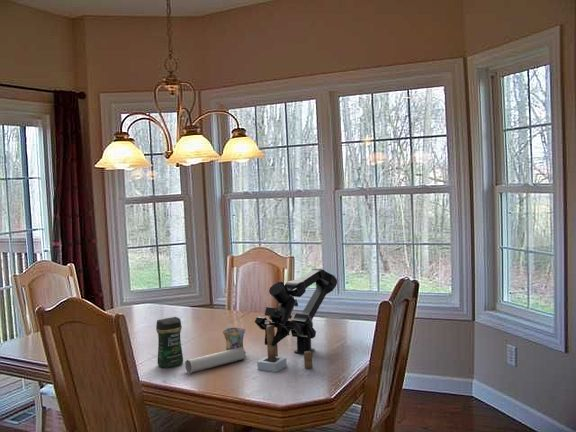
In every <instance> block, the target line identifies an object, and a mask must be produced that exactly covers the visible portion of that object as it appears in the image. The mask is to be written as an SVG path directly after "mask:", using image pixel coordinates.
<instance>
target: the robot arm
mask: <svg viewBox="0 0 576 432" xmlns="http://www.w3.org/2000/svg"><path fill="white" fill-rule="evenodd" d="M314 283H315V289H314V291H313V293H312V295H311V297H310V298H309V300H308V302H307V303H306V305H305V307H304V309H303V311H302V312H301V313H298V312H296V313H295V314H294V316H293V317H292V315H291V314H292V312H293V309H294V308H295V307H299V304H298V303H299V302H298V300H297V298H300V297H302V296H303V295H304V294H305V293H306V289H307V288H309V287H310V286H312V285H313V284H314ZM337 284H338V280H337V278H336V275H333V274H332V273H330V272H328V271H326V270H325V269H323V268H312V269H311V270H310V271H309V272H308V273H306V274H304V275H303V276H301V277H299V278H298V279H294V280H289V281H287V282H286V283H284V282H283V281H281V280H278V281H276V283H274V284H273V285H271V286H270V288H269V290H268V292H269V295H271V297H272V298H273V299H274V301H275V302H276V303H277V304H278V306H277V307H269V306H267V307H265V312H264V316H256V317H255V319H254V323H255V324H256V325H257V327H258V328H259V330H263V331H265V333H264V345H265V346H267V330H266V326H267V325H274V328H276V331H275V337H274V339H273V342H272V346H275V345H276V344H277V345H278V343H279V342H281V341H282V340H283V339H285V338H286V337H288V336H292V337H293V338H296V349H295V350H294V351H293V353H295V354H303V355H304V352H305V351H311V352H312V353H313V352H314V351H315V348H312V339H315V337H316V333H317V331H316V330H315V328H314V322H313V319H314V317H315V315H316V313H317V312H318V310H319V308H320V306H321V305H322V303H323V301H324V299H325V298H326V297H327V295H328V294H330V293H332V292H333V291H334V289H335V288H336V286H337ZM295 298H296V299H295ZM265 316H267V317H269V318H268V319H269V320H268V319H267V318H266V317H265ZM290 319H291V320H290ZM290 333H291V334H290Z"/></svg>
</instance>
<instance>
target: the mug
mask: <svg viewBox="0 0 576 432" xmlns="http://www.w3.org/2000/svg"><path fill="white" fill-rule="evenodd" d="M222 334H223V336H224V339H225V345H226V346H225V347H226V349H225V351H227V350H231V349H235V348H239V347H240V348H243V349H244V336H245V334H246V328H244V327H228V328H225V329H222ZM244 350H245V349H244Z"/></svg>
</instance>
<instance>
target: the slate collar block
mask: <svg viewBox="0 0 576 432" xmlns="http://www.w3.org/2000/svg"><path fill="white" fill-rule="evenodd" d="M256 362H257V366H256V367H257V370H259V369H261V370H260V371H266V372H271V373H272V372H273V373H277V372H278V371H280V370H282V369H284V368H285V367H286V366H287V364H288V363H287V357H285V356H278V357H277V356H276V362H268V355H267V356H265V357H262V358H261V359H259V360H257V361H256Z"/></svg>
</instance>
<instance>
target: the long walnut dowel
mask: <svg viewBox="0 0 576 432" xmlns="http://www.w3.org/2000/svg"><path fill="white" fill-rule="evenodd" d="M266 330H267V345H266V346H267V348H266V349H267V356H268V362H276V351H275V346H272V342H273V339H274V337H275V335H276V331H275V327H274V325H267V326H266Z"/></svg>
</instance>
